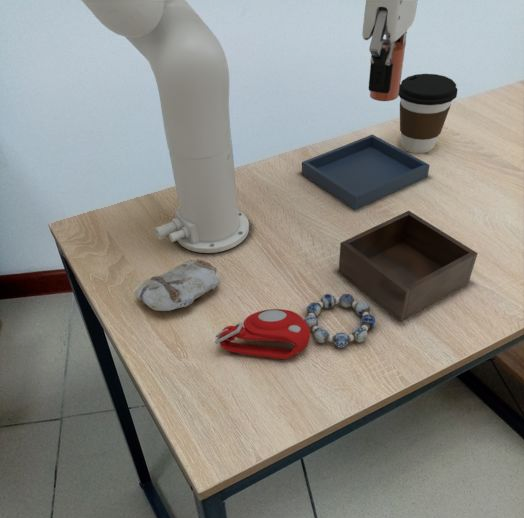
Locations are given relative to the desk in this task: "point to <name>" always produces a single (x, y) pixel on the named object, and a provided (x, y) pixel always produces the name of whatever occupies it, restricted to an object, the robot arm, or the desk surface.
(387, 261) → the brown open box
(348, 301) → the bracelet
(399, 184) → the tray
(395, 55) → the orange cylinder
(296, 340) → the tracker holder
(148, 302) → the stone
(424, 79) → the coffee cup
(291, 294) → the desk surface
